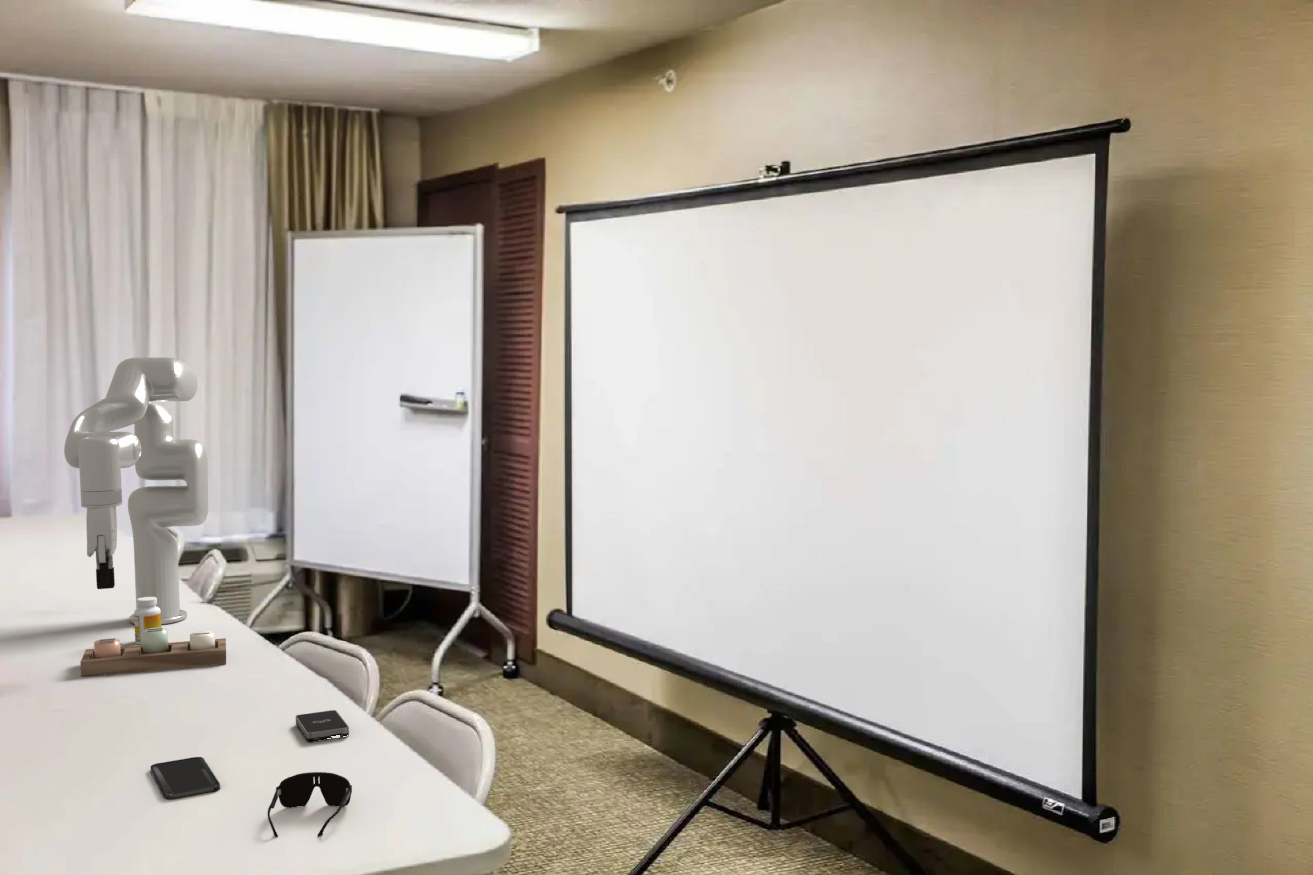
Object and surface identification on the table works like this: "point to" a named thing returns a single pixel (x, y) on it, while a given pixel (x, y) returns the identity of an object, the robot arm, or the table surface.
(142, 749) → the table surface
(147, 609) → the supplement bottle
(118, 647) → the button
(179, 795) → the phone
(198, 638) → the button
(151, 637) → the button
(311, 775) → the sunglasses
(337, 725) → the external hard drive
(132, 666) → the button board
